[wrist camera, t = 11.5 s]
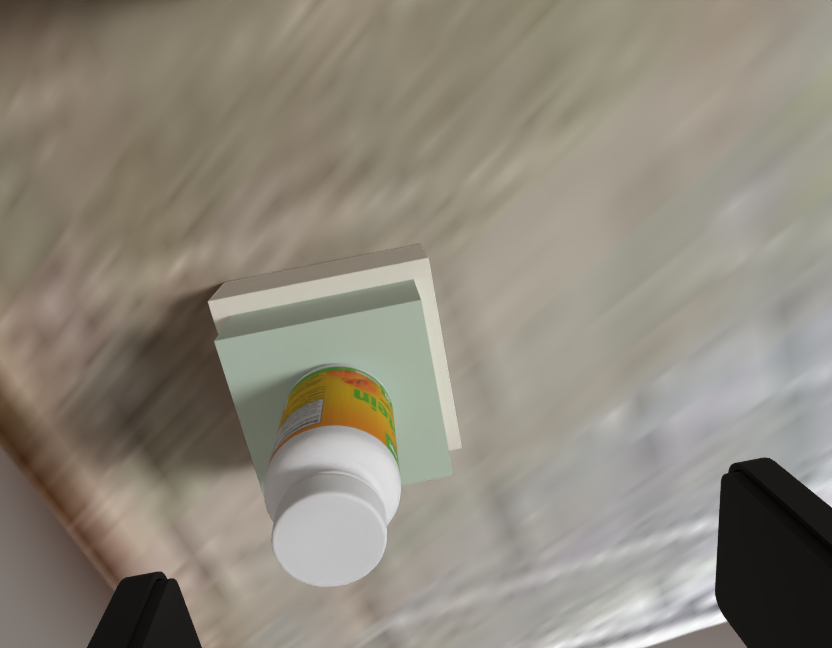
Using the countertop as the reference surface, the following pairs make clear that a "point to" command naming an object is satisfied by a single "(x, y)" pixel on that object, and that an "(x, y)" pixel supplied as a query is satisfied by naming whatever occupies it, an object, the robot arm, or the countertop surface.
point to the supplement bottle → (333, 476)
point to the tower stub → (341, 348)
